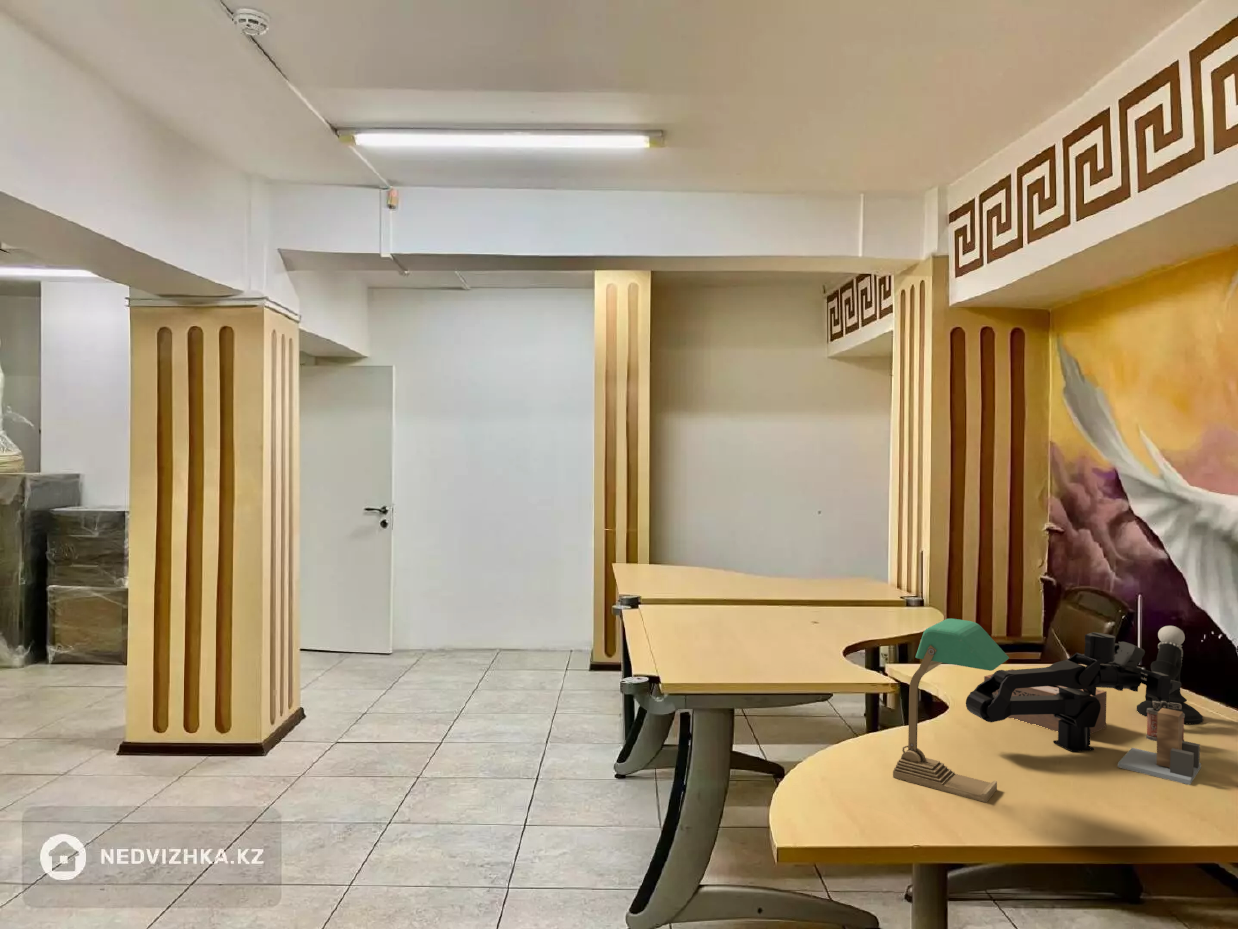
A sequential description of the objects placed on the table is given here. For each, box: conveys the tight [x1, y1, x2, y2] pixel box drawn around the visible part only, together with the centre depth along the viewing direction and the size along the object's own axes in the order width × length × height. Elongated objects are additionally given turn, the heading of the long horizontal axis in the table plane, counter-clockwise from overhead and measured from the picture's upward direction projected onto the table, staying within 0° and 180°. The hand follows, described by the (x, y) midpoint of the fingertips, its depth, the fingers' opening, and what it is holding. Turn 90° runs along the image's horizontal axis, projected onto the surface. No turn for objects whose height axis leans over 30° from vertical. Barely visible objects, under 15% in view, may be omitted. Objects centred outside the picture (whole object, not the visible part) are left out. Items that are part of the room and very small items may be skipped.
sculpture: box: [1136, 625, 1204, 725], centre depth 218 cm, size 15×24×25 cm, turn 134°
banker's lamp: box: [892, 618, 1010, 803], centre depth 172 cm, size 16×21×35 cm
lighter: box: [1145, 701, 1185, 742], centre depth 201 cm, size 8×3×10 cm, turn 62°
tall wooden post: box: [1156, 708, 1183, 768], centre depth 182 cm, size 4×5×12 cm
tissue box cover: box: [983, 668, 1108, 735], centre depth 217 cm, size 26×14×10 cm, turn 34°
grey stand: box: [1117, 740, 1202, 786], centre depth 183 cm, size 14×14×6 cm
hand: (1165, 679), depth 199 cm, fingers open, 9 cm apart
